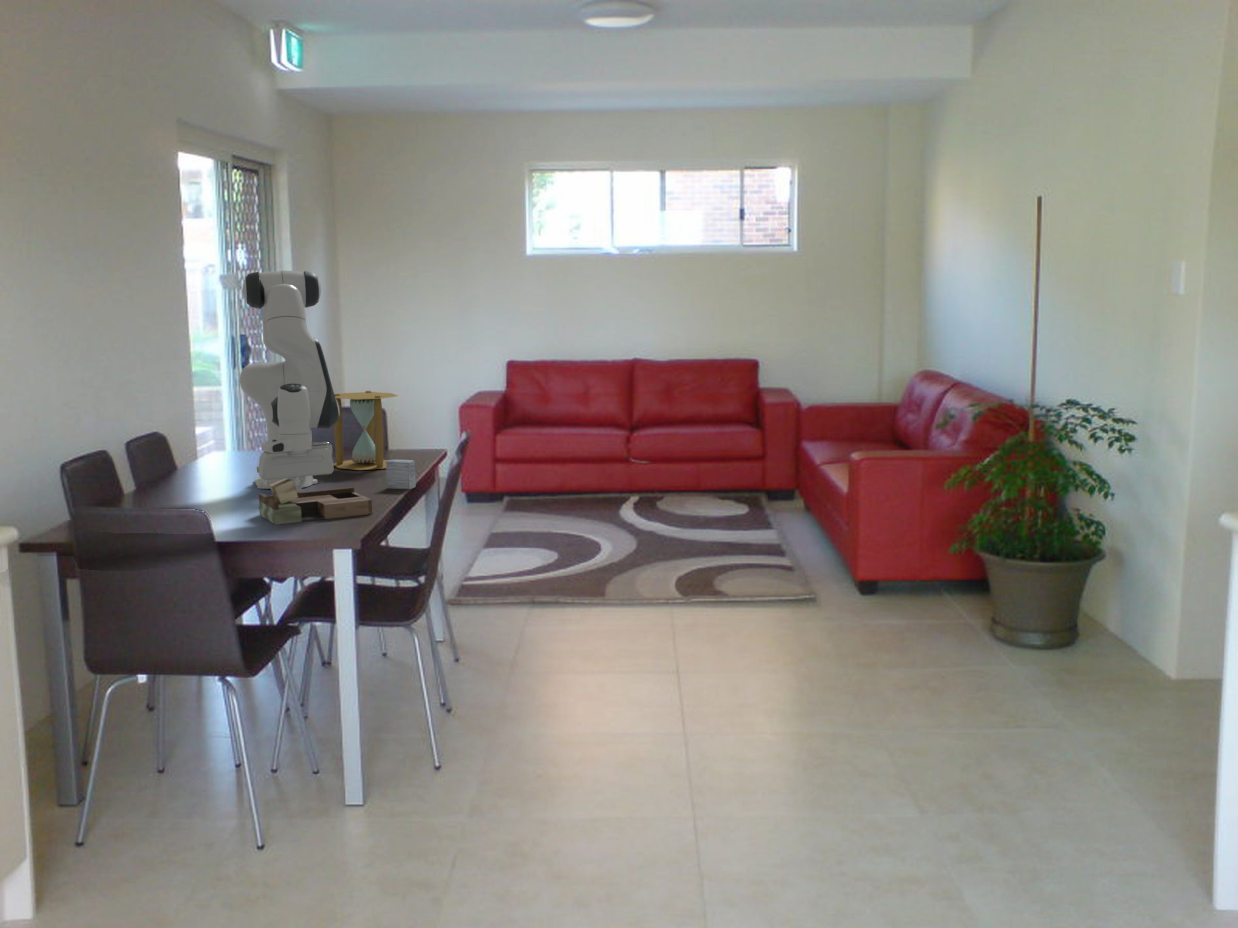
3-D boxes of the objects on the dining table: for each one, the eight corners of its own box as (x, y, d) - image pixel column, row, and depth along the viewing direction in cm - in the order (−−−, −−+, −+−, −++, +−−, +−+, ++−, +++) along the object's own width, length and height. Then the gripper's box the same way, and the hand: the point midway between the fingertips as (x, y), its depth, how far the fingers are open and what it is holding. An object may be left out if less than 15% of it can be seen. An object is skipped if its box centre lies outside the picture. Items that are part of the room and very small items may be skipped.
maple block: (275, 501, 328) (269, 484, 326) (292, 494, 330) (286, 477, 329) (281, 504, 324) (275, 487, 322) (298, 497, 326) (292, 480, 324)
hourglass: (319, 465, 413) (317, 393, 409) (374, 458, 429) (372, 389, 424) (356, 473, 396) (354, 399, 392) (412, 465, 412) (410, 394, 408)
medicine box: (416, 487, 371) (415, 460, 370) (409, 490, 367) (409, 462, 366) (393, 486, 373) (392, 459, 372) (386, 488, 369) (385, 461, 368)
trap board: (259, 514, 329) (258, 493, 328) (353, 504, 344) (352, 484, 343) (275, 524, 317) (274, 502, 316) (372, 513, 331) (371, 492, 330)
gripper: (328, 439, 334) (330, 487, 336) (255, 444, 323) (258, 494, 325) (336, 441, 329) (338, 490, 331) (262, 447, 318) (265, 498, 320)
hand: (297, 492), depth 328 cm, fingers closed
